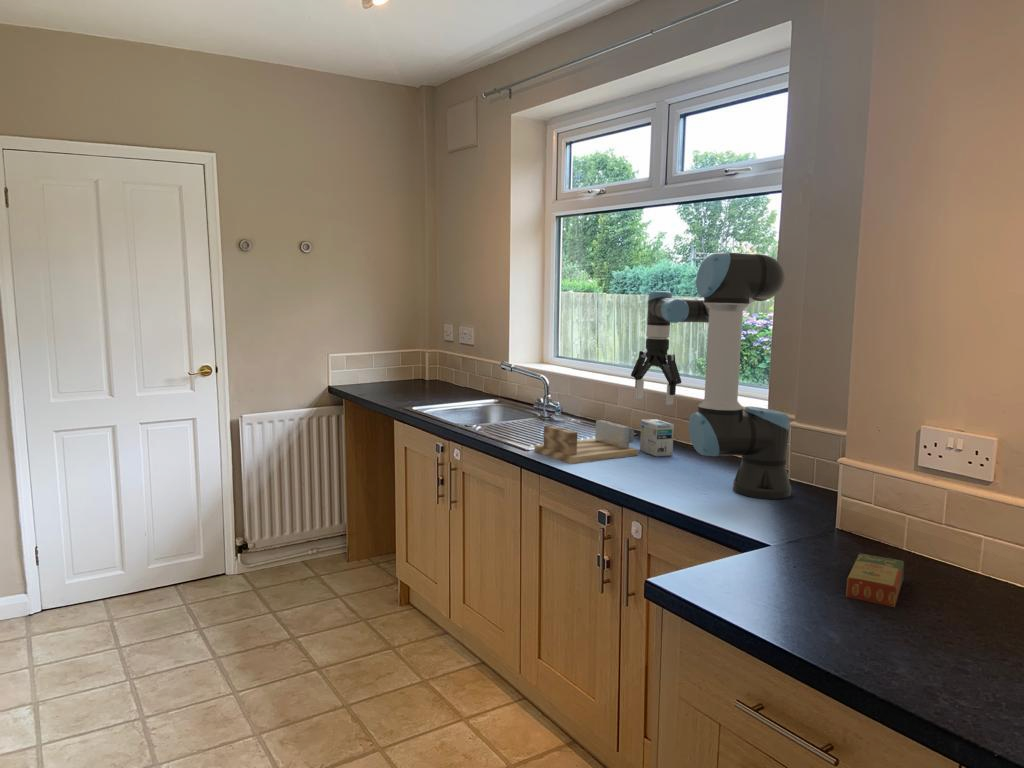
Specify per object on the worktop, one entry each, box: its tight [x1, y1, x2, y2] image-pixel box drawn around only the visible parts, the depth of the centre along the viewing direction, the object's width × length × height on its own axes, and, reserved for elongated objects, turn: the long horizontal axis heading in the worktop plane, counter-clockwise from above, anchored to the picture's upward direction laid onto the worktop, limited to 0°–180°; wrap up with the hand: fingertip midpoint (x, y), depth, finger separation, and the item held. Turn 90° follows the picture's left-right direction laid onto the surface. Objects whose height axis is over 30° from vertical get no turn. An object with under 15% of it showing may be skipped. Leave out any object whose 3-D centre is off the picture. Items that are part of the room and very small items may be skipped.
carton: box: [845, 553, 905, 608], centre depth 140 cm, size 8×16×4 cm, turn 148°
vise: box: [533, 424, 639, 465], centre depth 247 cm, size 20×28×9 cm
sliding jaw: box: [594, 419, 635, 448], centre depth 255 cm, size 14×10×7 cm
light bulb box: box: [639, 418, 675, 457], centre depth 251 cm, size 11×7×11 cm, turn 22°
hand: (654, 401), depth 248 cm, fingers open, 13 cm apart
